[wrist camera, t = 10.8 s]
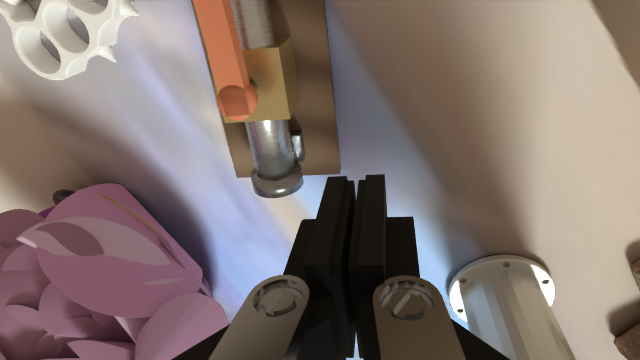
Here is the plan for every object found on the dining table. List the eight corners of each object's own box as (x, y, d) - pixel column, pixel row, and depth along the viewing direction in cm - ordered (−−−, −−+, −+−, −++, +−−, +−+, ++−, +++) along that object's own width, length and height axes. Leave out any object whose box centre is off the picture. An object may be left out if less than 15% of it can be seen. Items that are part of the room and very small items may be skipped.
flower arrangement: (50, 215, 60) (-189, 391, 39) (67, 119, 45) (-311, 321, 23) (227, 339, 65) (101, 557, 43) (296, 290, 49) (155, 589, 28)
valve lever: (203, -134, 22) (193, -139, 21) (261, 112, 30) (256, 119, 29) (161, -124, 23) (149, -128, 22) (228, 115, 30) (222, 122, 29)
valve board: (340, 167, 43) (339, 174, 42) (241, 171, 45) (236, 177, 44) (315, -89, 31) (313, -91, 30) (181, -68, 33) (173, -69, 32)
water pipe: (312, 167, 42) (298, 210, 35) (260, 169, 43) (236, 211, 36) (278, -70, 31) (248, -78, 24) (209, -60, 32) (161, -64, 25)
